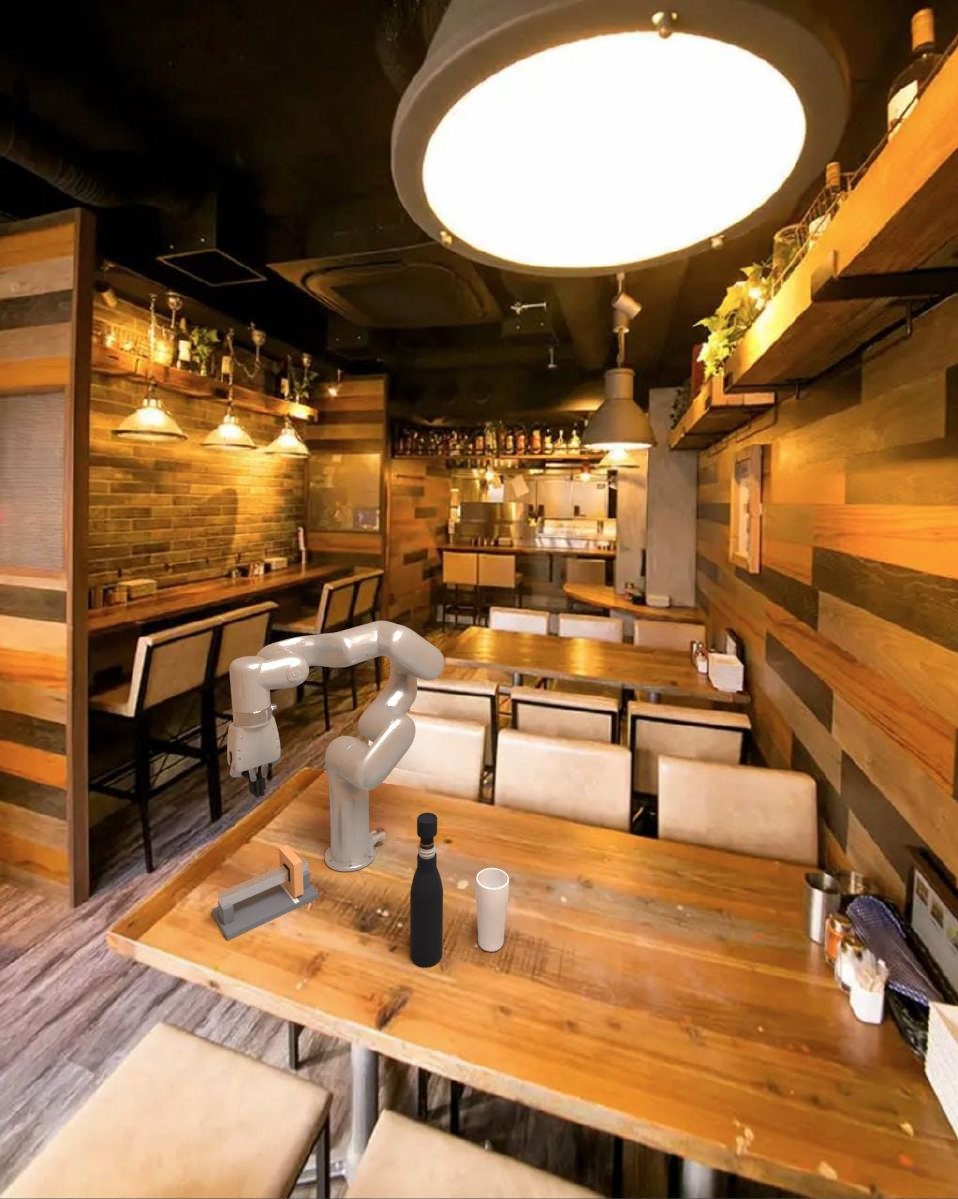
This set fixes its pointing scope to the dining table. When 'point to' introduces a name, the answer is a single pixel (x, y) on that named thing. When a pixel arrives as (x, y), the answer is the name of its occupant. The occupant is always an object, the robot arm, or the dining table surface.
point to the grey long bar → (257, 885)
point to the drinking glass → (491, 907)
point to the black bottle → (426, 898)
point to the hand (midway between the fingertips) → (257, 794)
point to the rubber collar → (292, 870)
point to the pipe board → (261, 908)
